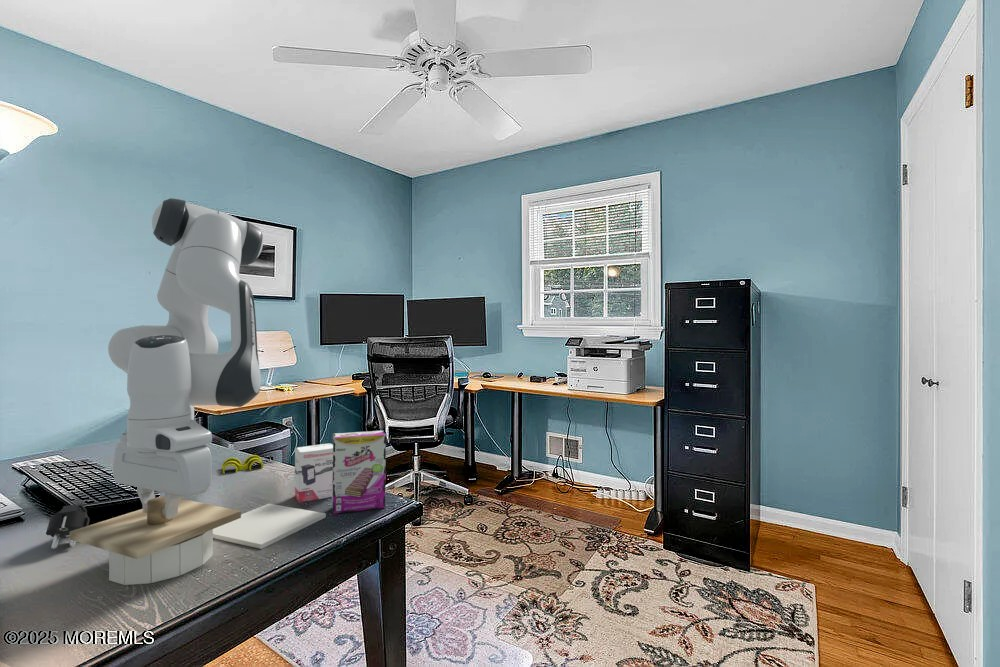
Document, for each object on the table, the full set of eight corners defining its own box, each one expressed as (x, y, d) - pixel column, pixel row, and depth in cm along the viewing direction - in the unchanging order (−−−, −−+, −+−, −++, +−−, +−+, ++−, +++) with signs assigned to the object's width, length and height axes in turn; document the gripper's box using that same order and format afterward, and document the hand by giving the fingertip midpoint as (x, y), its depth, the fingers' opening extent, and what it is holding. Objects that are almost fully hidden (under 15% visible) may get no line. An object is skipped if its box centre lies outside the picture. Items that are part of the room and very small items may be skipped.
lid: (69, 539, 77) (69, 509, 77) (177, 504, 92) (177, 479, 92) (137, 559, 70) (137, 526, 70) (240, 517, 86) (241, 491, 86)
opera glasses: (222, 481, 127) (222, 462, 127) (221, 476, 131) (221, 457, 131) (263, 475, 132) (263, 457, 132) (261, 470, 136) (261, 453, 136)
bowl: (89, 574, 77) (89, 542, 77) (176, 539, 90) (176, 512, 90) (145, 591, 72) (145, 558, 72) (230, 552, 85) (230, 523, 85)
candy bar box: (332, 515, 102) (332, 437, 102) (332, 507, 107) (331, 433, 107) (386, 508, 106) (386, 433, 106) (384, 501, 111) (383, 429, 111)
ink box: (299, 504, 109) (298, 451, 109) (294, 497, 113) (294, 447, 113) (337, 496, 114) (337, 446, 114) (332, 491, 118) (331, 442, 118)
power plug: (106, 520, 98) (88, 497, 89) (97, 559, 93) (78, 539, 85) (70, 525, 95) (48, 502, 87) (60, 565, 91) (36, 545, 82)
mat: (199, 535, 92) (199, 530, 92) (268, 507, 107) (268, 503, 107) (261, 548, 86) (261, 544, 86) (325, 517, 101) (325, 513, 101)
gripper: (101, 431, 82) (101, 512, 82) (181, 442, 74) (181, 532, 74) (141, 424, 88) (141, 500, 88) (219, 434, 80) (219, 517, 80)
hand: (160, 515), depth 81 cm, fingers closed on lid, 3 cm apart
